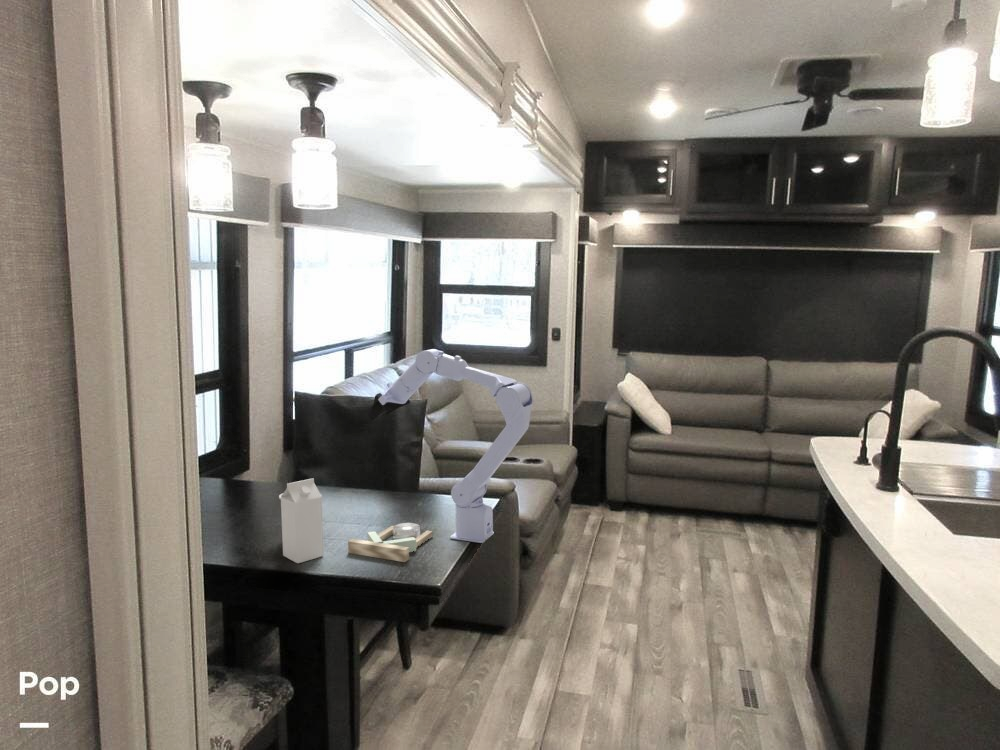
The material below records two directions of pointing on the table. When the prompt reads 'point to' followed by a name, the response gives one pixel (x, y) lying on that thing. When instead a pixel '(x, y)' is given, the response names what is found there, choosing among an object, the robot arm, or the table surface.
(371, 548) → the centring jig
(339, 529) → the table surface
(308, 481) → the milk carton
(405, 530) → the aluminium cover
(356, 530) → the table surface
